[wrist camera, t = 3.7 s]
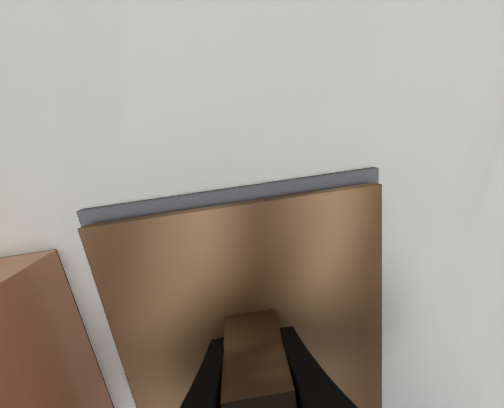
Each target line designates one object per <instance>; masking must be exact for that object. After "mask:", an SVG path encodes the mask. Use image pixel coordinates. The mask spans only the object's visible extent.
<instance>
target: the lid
mask: <svg viewBox="0 0 504 408" xmlns="http://www.w3.org/2000/svg"><path fill="white" fill-rule="evenodd" d="M78 232H79V235H80V238H81V241H82V244H83V247H84V250H85V253H86V256H87V259H88V262H89V265H90V268H91V271H92V274H93V278H94V281H95V284H96V287H97V290H98V293H99V296H100V299H101V302H102V305H103V308H104V311H105V314H106V317H107V320H108V323H109V326H110V329H111V332H112V335H113V338H114V341H115V344H116V347H117V350H118V353H119V356H120V359H121V362H122V365H123V368H124V371H125V375H126V378H127V381H128V384H129V387H130V390H131V393H132V396H133V399H134V402H135V405H136V408H180V406H181V404H182V402H183V400H184V398H185V396H186V395H187V393H188V391H189V389H190V387H191V385H192V383H193V381H194V378H195V376H196V374H197V372H198V370H199V368H200V366H201V363H202V361H203V359H204V356H205V354H206V351H207V349H208V346H209V343H210V341H211V340H212V339H217V338H223V337H224V344H223V347H224V354H223V364H222V383H221V402H220V404H221V408H297V405H296V396H295V389H294V385H293V381H292V377H291V373H290V369H289V365H288V361H287V357H286V353H285V348H284V346H283V343H282V339H281V337H282V336H281V332H280V328H283V327H289V326H292V327H294V328H295V330H296V332H297V334H298V335H299V337H300V339H301V340H302V342H303V343H304V345H305V346H306V347H307V349H308V350H309V352H310V353H311V354H312V356H313V357H314V358H315V360H316V361H317V362H318V363H319V365H320V366H321V367H322V369H323V370H324V371H325V372H326V373H327V375H328V376H329V377H330V378H331V379H332V380H333V381H334V383H335V384H336V385H337V386H338V387H339V388H340V389H341V390H342V391H343V392H344V394H345V395H346V396H347V397H348V398H349V399H350V400H351V401H352V402H353V403H354V404H355V405H356V406H357V407H358V408H382V185H381V184H378V183H367V184H360V185H353V186H346V187H340V188H333V189H326V190H319V191H312V192H305V193H298V194H292V195H285V196H278V197H271V198H264V199H257V200H250V201H244V202H237V203H230V204H223V205H216V206H209V207H203V208H196V209H189V210H182V211H175V212H168V213H161V214H155V215H148V216H141V217H134V218H127V219H120V220H113V221H107V222H100V223H93V224H86V225H84V226H82V227H81V228H79V229H78Z"/></svg>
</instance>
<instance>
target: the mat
mask: <svg viewBox="0 0 504 408" xmlns="http://www.w3.org/2000/svg"><path fill="white" fill-rule="evenodd" d="M367 183H378V168H375V167H372V168H365V169H358V170H351V171H344V172H338V173H331V174H324V175H317V176H310V177H303V178H296V179H289V180H282V181H275V182H268V183H261V184H254V185H247V186H240V187H233V188H227V189H220V190H213V191H206V192H199V193H192V194H185V195H178V196H171V197H164V198H157V199H150V200H143V201H136V202H129V203H123V204H116V205H109V206H102V207H95V208H88V209H81V210H79V211H77V215H78V218H79V221H80V224H81V227H82V226H84V225H86V224H93V223H100V222H107V221H113V220H120V219H127V218H134V217H141V216H148V215H155V214H161V213H168V212H175V211H182V210H189V209H196V208H203V207H209V206H216V205H223V204H230V203H237V202H244V201H250V200H257V199H264V198H271V197H278V196H285V195H292V194H298V193H305V192H312V191H319V190H326V189H333V188H340V187H346V186H353V185H360V184H367ZM378 184H379V183H378Z"/></svg>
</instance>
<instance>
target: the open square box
mask: <svg viewBox="0 0 504 408" xmlns="http://www.w3.org/2000/svg"><path fill="white" fill-rule="evenodd" d="M0 408H113V405H112V402H111V399H110V397H109V394H108V391H107V388H106V386H105V383H104V380H103V377H102V375H101V372H100V369H99V366H98V364H97V361H96V358H95V355H94V353H93V350H92V347H91V344H90V342H89V339H88V336H87V333H86V331H85V328H84V325H83V322H82V320H81V317H80V314H79V312H78V309H77V306H76V303H75V301H74V298H73V295H72V292H71V290H70V287H69V284H68V281H67V279H66V276H65V273H64V270H63V268H62V265H61V262H60V259H59V257H58V254H57V251H56V250H49V251H43V252H36V253H29V254H23V255H16V256H9V257H2V258H0Z"/></svg>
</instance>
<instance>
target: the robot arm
mask: <svg viewBox="0 0 504 408" xmlns="http://www.w3.org/2000/svg"><path fill="white" fill-rule="evenodd" d="M280 332H281V336H282V337H281V339H282V343H283V346H284V348H285V353H286V357H287V361H288V365H289V369H290V373H291V377H292V381H293V385H294V389H295V396H296V405H297V408H358V407H357V406H356V405H355V404H354V403H353V402H352V401H351V400H350V399H349V398H348V397H347V396H346V395H345V394H344V392H343V391H342V390H341V389H340V388H339V387H338V386H337V385H336V384H335V383H334V381H333V380H332V379H331V378H330V377H329V376H328V375H327V373H326V372H325V371H324V370H323V369H322V367H321V366H320V365H319V363H318V362H317V361H316V360H315V358H314V357H313V356H312V354H311V353H310V352H309V350H308V349H307V347H306V346H305V345H304V343H303V342H302V340H301V339H300V337H299V335H298V334H297V332H296V330H295V328H294V327H292V326H289V327H283V328H280ZM223 344H224V337H223V338H217V339H212V340H211V341H210V343H209V346H208V349H207V351H206V354H205V356H204V359H203V361H202V363H201V366H200V368H199V370H198V372H197V374H196V376H195V378H194V381H193V383H192V385H191V387H190V389H189V391H188V393H187V395H186V396H185V398H184V400H183V402H182V404H181V406H180V408H221V404H220V402H221V383H222V364H223V354H224V347H223Z"/></svg>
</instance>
